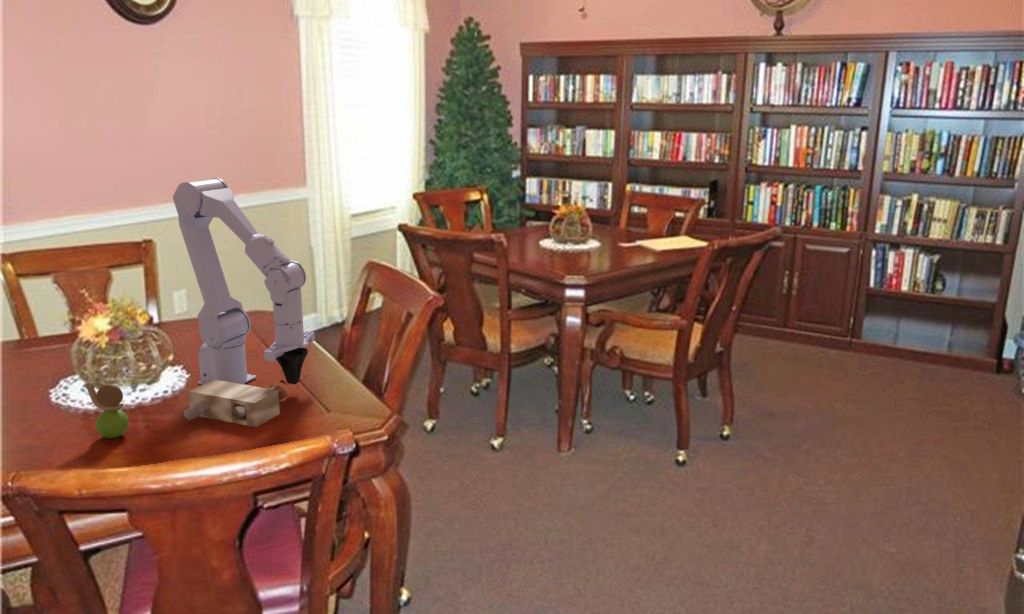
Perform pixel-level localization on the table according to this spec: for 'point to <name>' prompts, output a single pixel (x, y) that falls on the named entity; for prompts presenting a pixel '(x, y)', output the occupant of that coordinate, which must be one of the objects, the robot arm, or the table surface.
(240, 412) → the lynch pin
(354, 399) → the table surface
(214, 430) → the table surface
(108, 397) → the snail figurine
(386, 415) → the table surface
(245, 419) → the beige block with pegs
